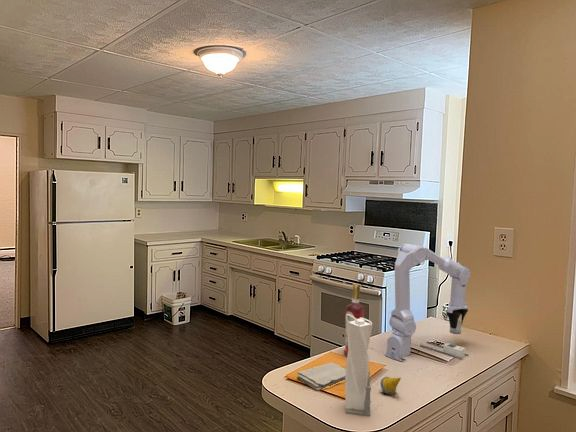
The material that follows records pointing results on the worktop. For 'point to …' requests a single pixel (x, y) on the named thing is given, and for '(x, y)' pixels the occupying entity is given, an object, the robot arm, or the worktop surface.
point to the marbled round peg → (458, 328)
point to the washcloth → (322, 375)
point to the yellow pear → (389, 385)
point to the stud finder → (454, 350)
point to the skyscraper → (358, 367)
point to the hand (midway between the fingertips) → (455, 326)
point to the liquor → (353, 311)
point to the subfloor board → (441, 351)
